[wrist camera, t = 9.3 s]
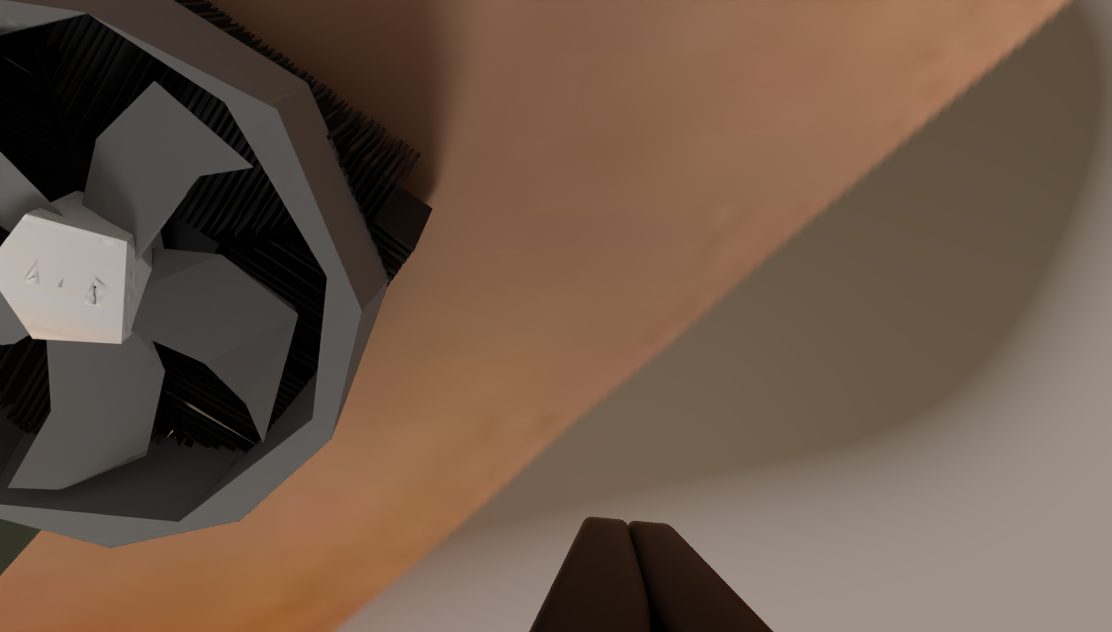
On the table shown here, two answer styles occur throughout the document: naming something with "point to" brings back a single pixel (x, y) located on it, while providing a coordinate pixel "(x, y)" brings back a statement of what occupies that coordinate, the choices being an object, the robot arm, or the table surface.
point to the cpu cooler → (176, 265)
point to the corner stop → (13, 541)
